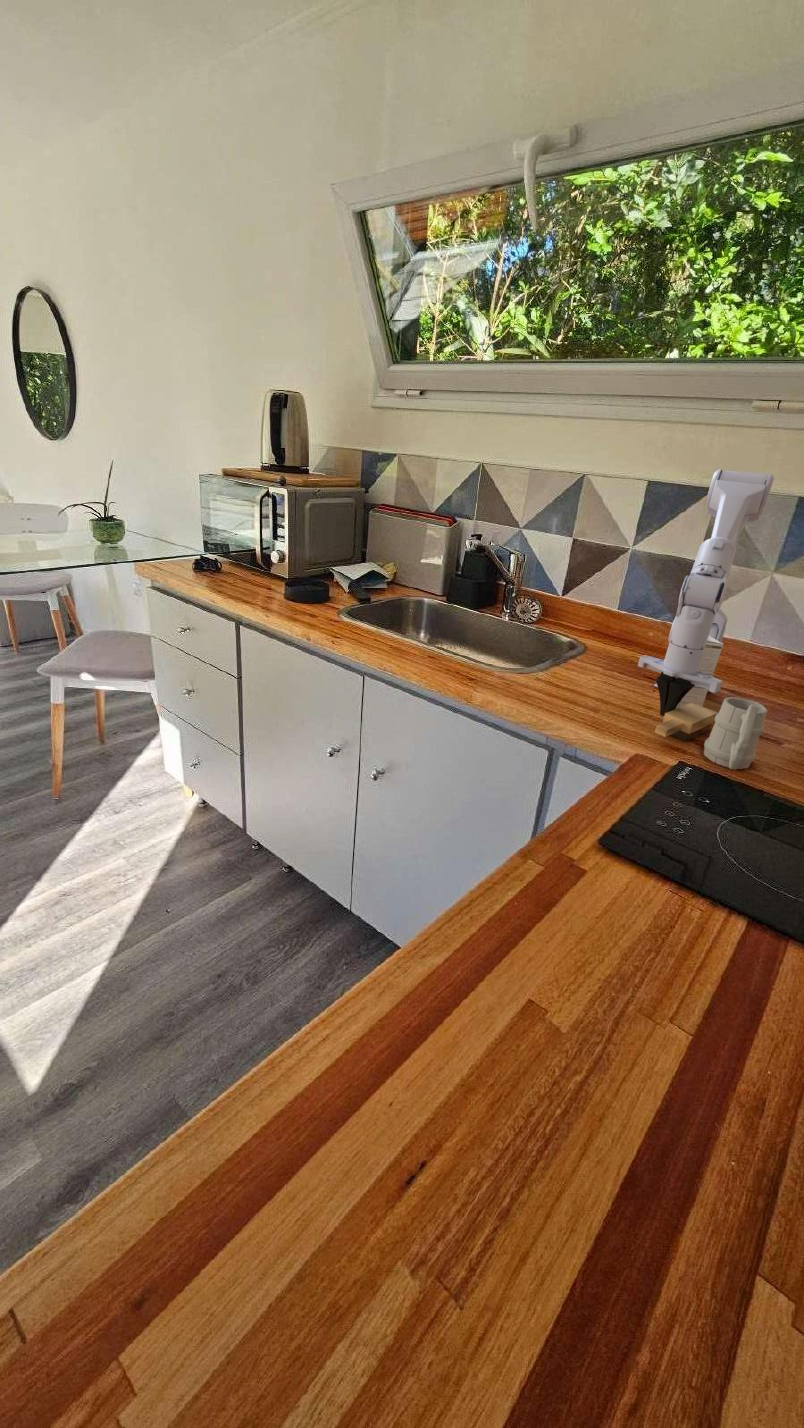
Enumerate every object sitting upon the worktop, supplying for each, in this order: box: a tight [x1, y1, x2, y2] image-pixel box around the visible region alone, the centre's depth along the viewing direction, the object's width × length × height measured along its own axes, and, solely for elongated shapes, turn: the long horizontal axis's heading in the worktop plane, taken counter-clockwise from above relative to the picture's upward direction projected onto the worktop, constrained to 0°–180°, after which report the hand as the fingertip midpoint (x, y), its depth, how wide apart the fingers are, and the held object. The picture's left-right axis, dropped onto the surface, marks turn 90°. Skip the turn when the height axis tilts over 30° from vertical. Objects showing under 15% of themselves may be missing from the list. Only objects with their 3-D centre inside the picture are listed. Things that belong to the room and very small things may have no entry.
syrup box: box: [676, 635, 724, 709], centre depth 117 cm, size 6×6×14 cm
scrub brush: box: [654, 703, 719, 742], centre depth 106 cm, size 16×5×4 cm, turn 129°
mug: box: [703, 696, 768, 770], centre depth 95 cm, size 8×12×12 cm, turn 158°
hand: (665, 715), depth 109 cm, fingers closed
